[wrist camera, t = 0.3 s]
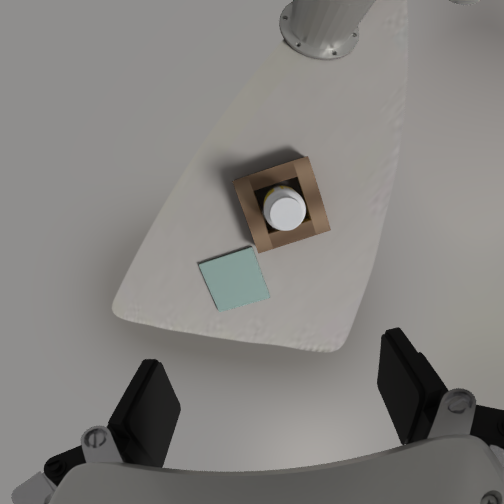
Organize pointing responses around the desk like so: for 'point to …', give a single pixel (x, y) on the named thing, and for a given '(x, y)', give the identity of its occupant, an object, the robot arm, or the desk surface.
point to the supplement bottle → (284, 208)
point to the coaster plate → (235, 279)
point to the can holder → (310, 193)
